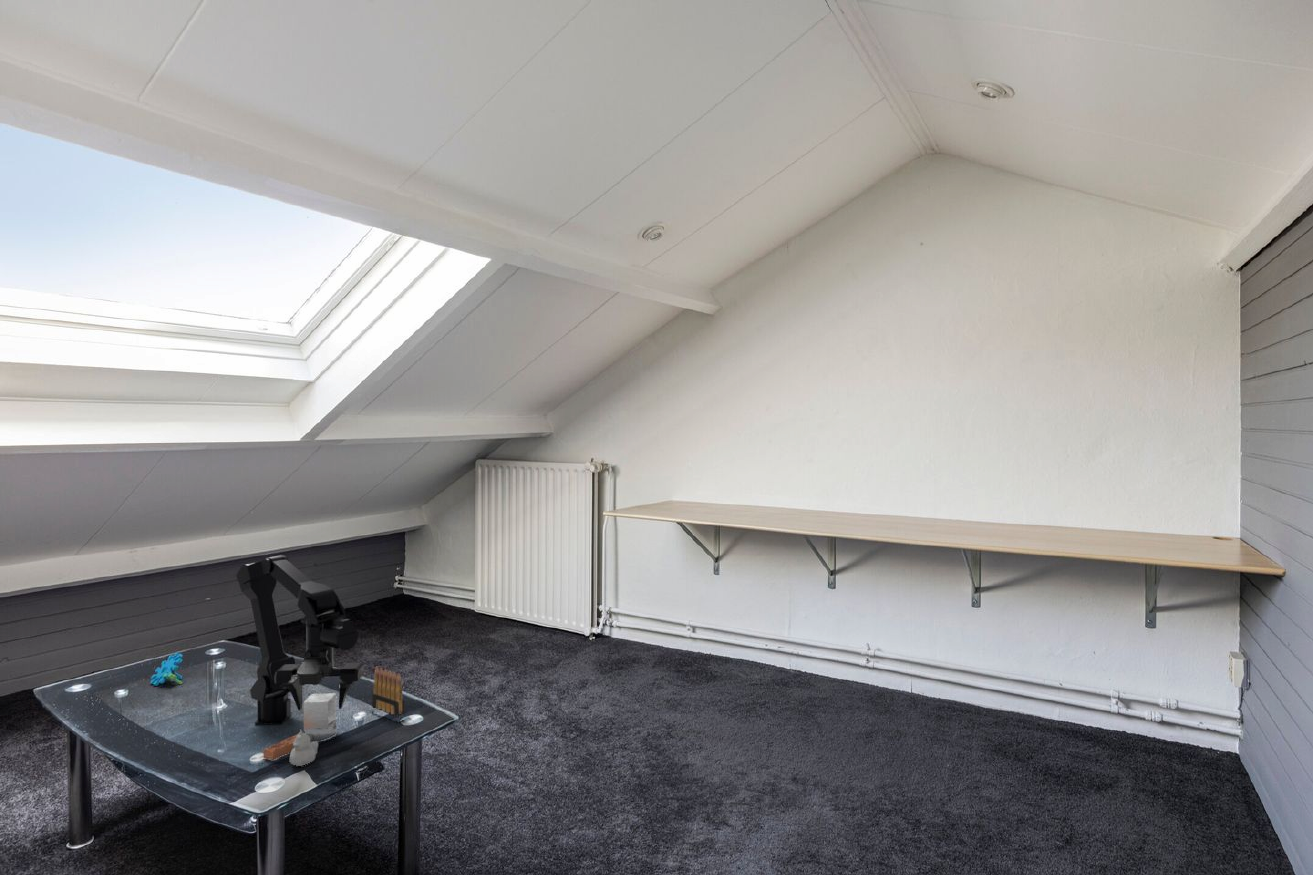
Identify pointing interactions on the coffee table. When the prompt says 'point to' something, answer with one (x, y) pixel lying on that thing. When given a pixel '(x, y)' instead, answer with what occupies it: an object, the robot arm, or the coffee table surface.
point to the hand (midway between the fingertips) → (320, 708)
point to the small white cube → (319, 710)
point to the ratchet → (287, 744)
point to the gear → (168, 670)
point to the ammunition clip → (387, 692)
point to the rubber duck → (303, 750)
